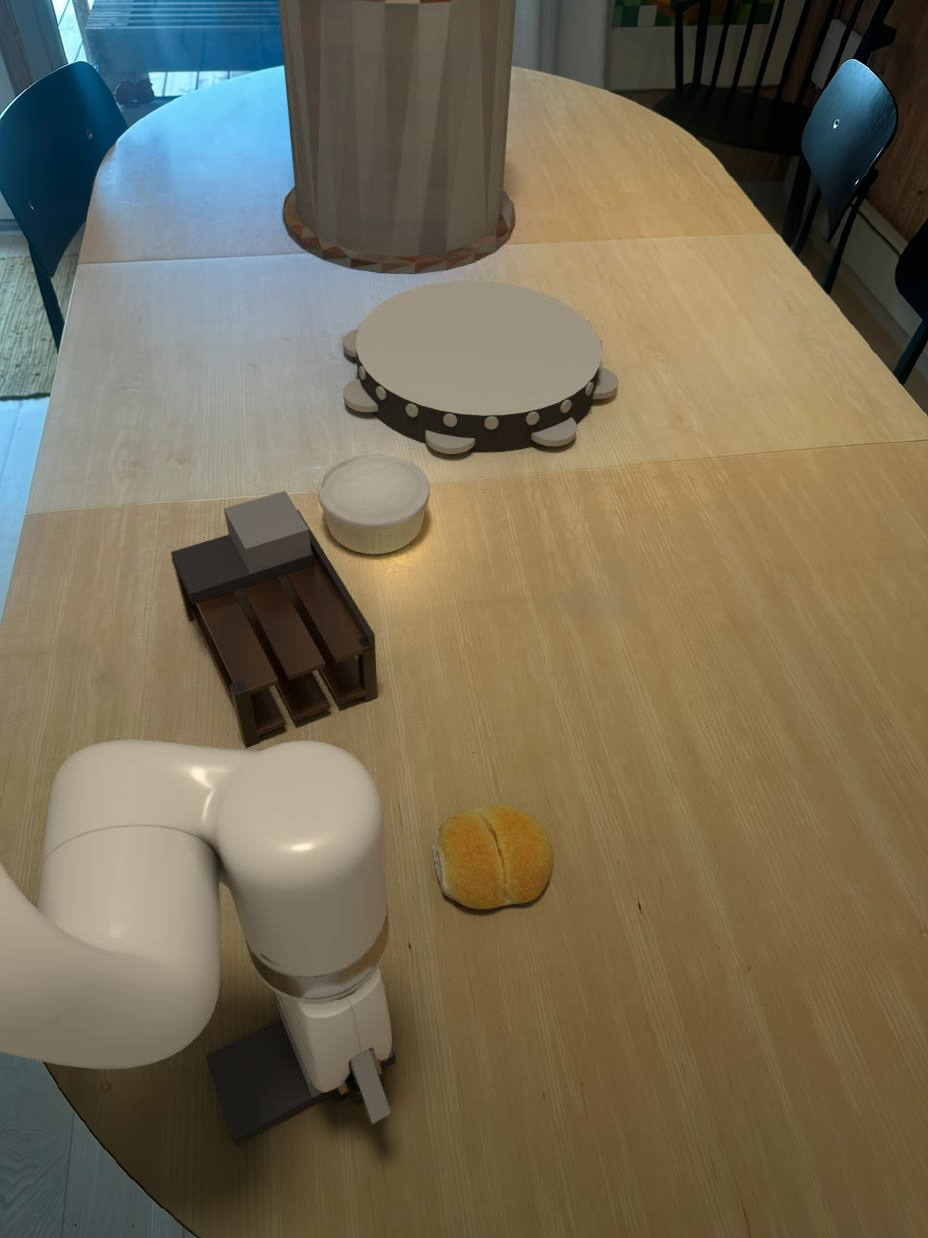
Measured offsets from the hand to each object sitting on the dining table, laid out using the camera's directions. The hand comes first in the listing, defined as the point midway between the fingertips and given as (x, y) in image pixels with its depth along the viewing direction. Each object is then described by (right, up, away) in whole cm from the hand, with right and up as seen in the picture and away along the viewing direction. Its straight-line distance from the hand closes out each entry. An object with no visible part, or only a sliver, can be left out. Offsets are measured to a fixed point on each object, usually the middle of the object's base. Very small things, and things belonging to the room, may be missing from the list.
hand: (337, 1041), depth 64 cm
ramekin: (-1, +38, +35) cm, 52 cm away
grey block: (-11, +33, +21) cm, 40 cm away
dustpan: (-2, -1, 0) cm, 3 cm away
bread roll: (+10, +9, +10) cm, 17 cm away
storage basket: (-1, +89, +83) cm, 121 cm away
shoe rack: (-8, +25, +23) cm, 35 cm away
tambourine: (+10, +57, +54) cm, 79 cm away
